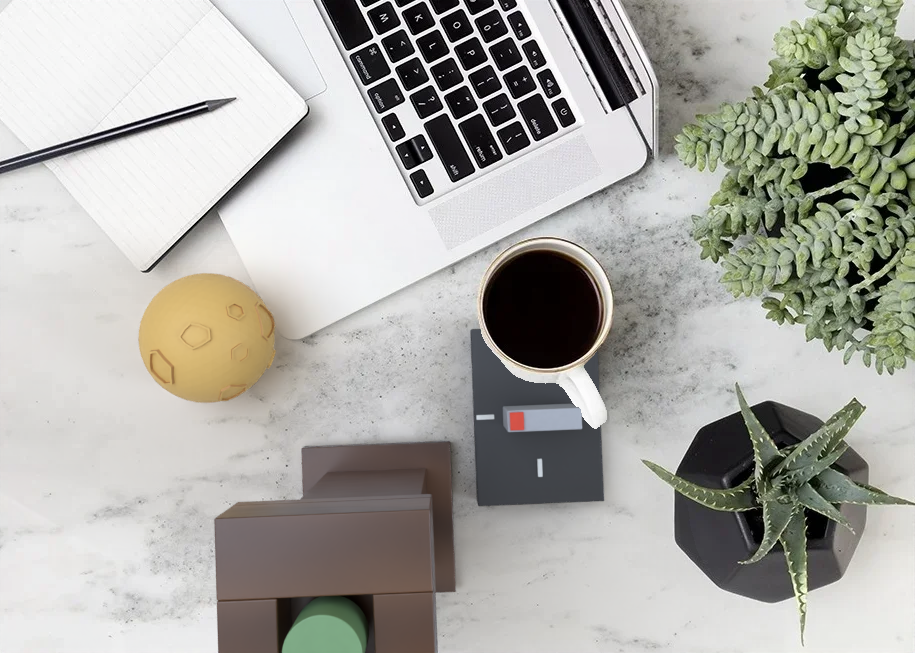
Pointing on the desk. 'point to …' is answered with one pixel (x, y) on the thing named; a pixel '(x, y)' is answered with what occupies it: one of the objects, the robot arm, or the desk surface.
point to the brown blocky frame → (326, 569)
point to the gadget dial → (542, 417)
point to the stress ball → (207, 338)
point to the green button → (328, 628)
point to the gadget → (529, 440)
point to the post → (390, 484)
